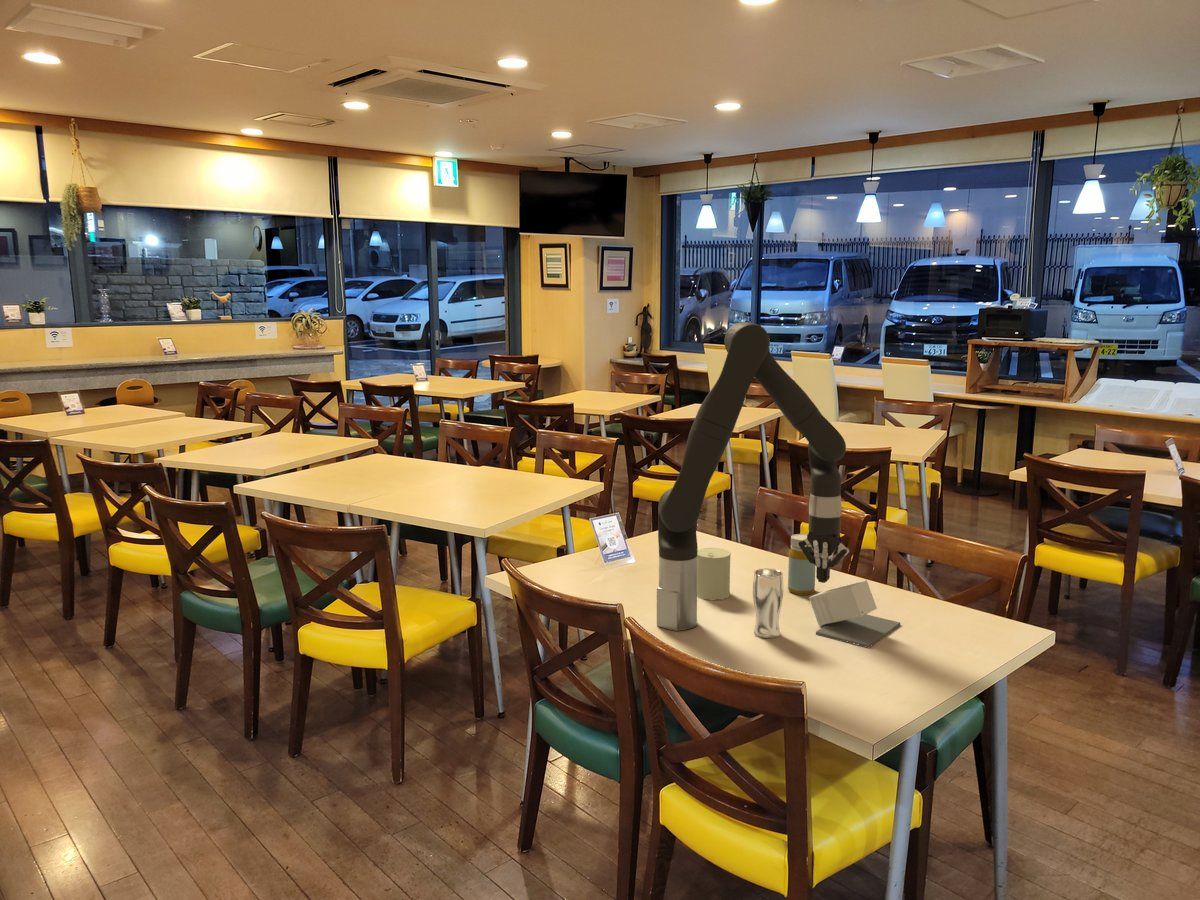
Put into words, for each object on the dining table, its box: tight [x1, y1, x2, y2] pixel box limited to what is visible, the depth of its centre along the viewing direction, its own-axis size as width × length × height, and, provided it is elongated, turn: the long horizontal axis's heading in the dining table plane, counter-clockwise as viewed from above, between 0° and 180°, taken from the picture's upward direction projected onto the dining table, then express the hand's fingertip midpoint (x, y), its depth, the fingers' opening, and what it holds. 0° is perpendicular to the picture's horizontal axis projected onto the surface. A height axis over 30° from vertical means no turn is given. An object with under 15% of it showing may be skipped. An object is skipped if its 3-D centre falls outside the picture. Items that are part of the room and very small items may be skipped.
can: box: [697, 547, 731, 601], centre depth 232 cm, size 9×9×12 cm
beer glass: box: [752, 567, 784, 639], centre depth 205 cm, size 7×7×15 cm
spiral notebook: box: [815, 613, 901, 648], centre depth 208 cm, size 18×13×1 cm
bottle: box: [787, 533, 816, 596], centre depth 234 cm, size 7×7×15 cm
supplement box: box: [808, 580, 878, 626], centre depth 209 cm, size 7×7×13 cm
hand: (822, 581), depth 213 cm, fingers closed
